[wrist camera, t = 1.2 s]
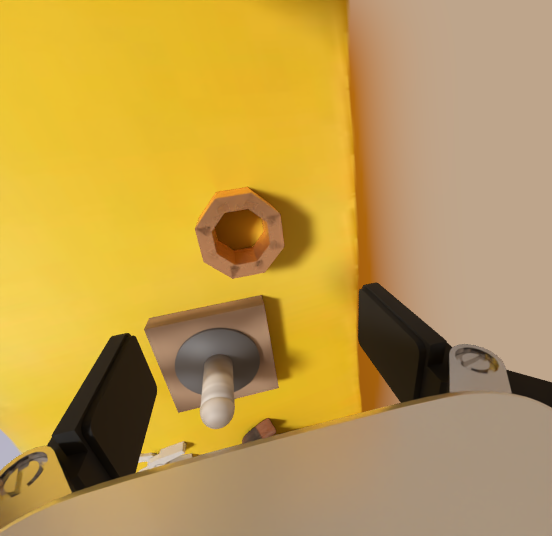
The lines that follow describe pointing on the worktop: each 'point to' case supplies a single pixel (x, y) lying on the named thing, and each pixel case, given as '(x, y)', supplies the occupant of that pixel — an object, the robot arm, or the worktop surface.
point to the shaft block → (214, 356)
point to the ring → (246, 258)
